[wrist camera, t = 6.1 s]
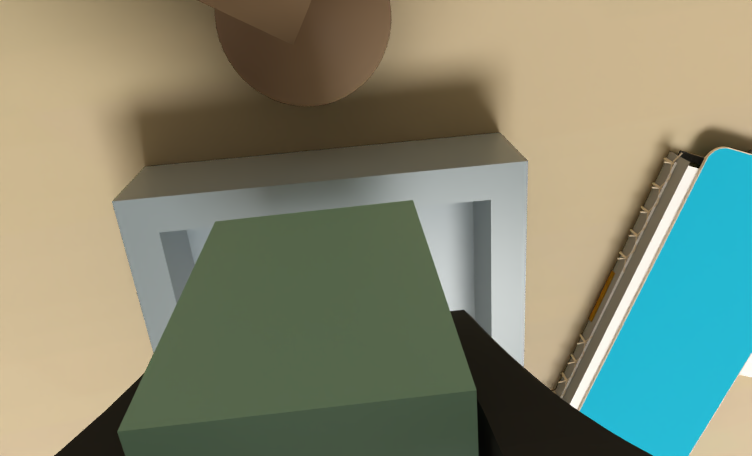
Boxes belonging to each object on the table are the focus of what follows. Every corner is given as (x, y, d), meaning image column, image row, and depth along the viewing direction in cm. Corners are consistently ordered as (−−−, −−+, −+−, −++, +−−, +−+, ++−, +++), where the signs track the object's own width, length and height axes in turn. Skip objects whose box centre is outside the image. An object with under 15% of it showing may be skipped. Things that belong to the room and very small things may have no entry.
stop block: (250, 382, 14) (193, 659, 8) (215, 221, 12) (116, 431, 7) (424, 362, 14) (483, 623, 8) (412, 199, 12) (476, 390, 7)
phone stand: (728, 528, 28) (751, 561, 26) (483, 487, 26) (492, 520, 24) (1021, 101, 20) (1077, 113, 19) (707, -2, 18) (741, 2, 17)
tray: (226, 500, 24) (212, 569, 22) (144, 166, 19) (111, 201, 16) (499, 471, 25) (520, 535, 22) (500, 132, 19) (527, 161, 16)
